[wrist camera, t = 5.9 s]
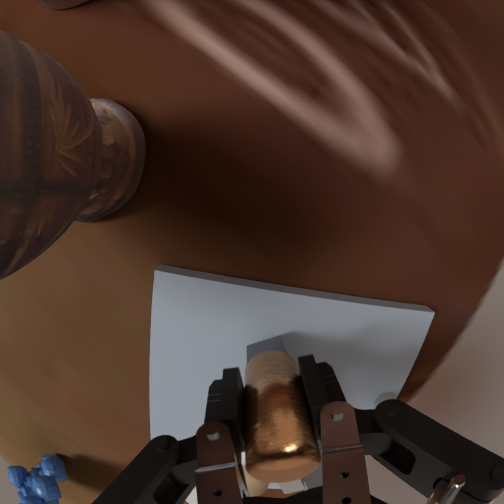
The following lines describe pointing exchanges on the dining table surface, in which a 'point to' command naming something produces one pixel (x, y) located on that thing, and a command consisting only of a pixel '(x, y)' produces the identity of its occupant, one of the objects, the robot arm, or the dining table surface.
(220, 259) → the dining table surface
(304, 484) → the lever
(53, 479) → the blue lumpy cluster
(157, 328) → the nutcracker base
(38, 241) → the mortar and pestle
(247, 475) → the hazelnut
